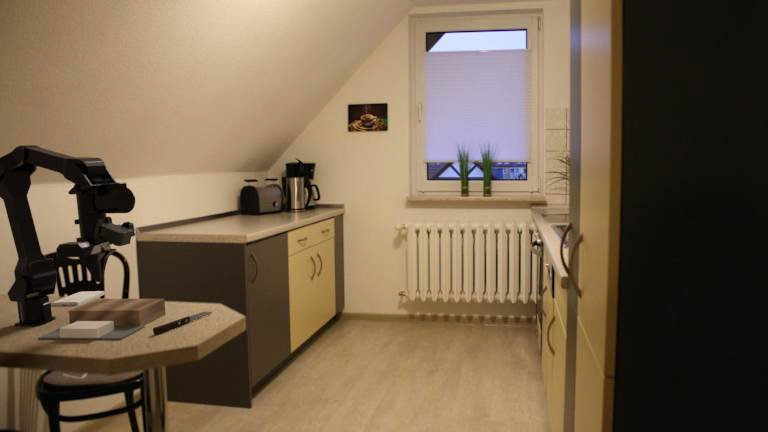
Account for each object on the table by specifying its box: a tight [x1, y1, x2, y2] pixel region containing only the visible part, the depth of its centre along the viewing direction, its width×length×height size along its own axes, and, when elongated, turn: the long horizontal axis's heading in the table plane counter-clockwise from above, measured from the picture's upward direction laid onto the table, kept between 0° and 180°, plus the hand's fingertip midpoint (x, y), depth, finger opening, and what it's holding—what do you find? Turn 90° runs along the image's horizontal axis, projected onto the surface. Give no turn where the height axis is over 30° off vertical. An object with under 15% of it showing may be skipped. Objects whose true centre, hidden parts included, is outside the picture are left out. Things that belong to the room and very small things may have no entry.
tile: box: [58, 321, 114, 338], centre depth 137 cm, size 9×6×2 cm, turn 80°
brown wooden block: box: [68, 298, 166, 327], centre depth 148 cm, size 18×11×4 cm, turn 80°
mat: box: [38, 325, 145, 341], centre depth 138 cm, size 20×9×1 cm, turn 80°
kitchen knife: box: [152, 311, 213, 336], centre depth 142 cm, size 18×1×2 cm, turn 153°
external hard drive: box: [50, 290, 106, 307], centre depth 173 cm, size 2×8×12 cm
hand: (99, 281), depth 141 cm, fingers closed
